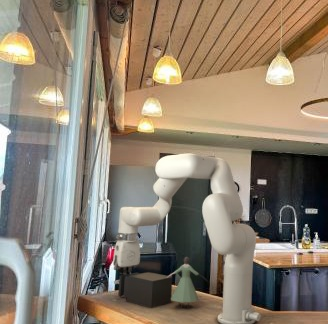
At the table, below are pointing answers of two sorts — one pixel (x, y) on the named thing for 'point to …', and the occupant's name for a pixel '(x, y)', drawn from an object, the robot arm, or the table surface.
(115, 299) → the table surface
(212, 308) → the table surface
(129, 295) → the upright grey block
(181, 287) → the character figurine
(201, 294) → the table surface
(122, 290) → the drawer
